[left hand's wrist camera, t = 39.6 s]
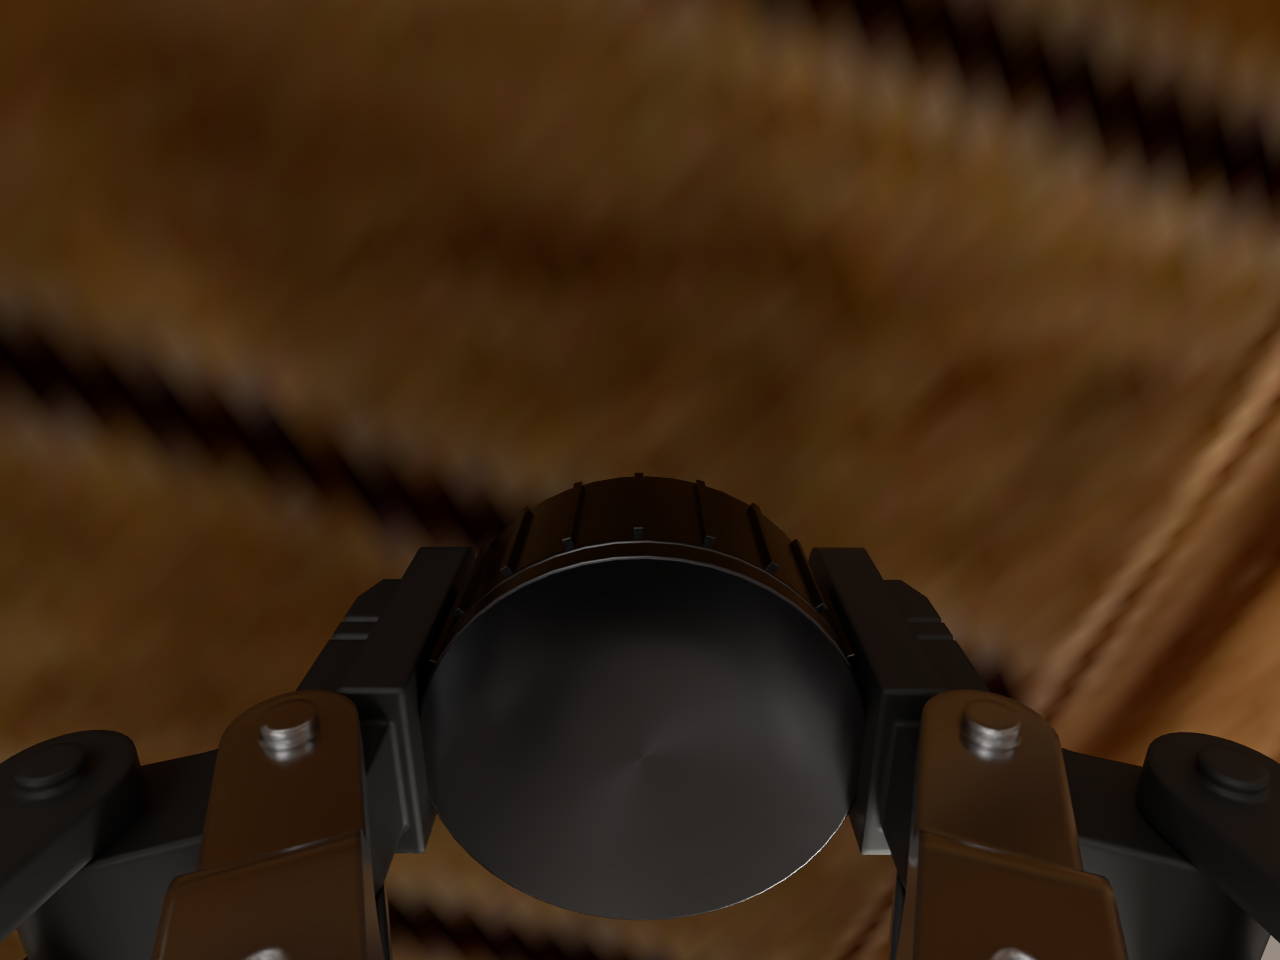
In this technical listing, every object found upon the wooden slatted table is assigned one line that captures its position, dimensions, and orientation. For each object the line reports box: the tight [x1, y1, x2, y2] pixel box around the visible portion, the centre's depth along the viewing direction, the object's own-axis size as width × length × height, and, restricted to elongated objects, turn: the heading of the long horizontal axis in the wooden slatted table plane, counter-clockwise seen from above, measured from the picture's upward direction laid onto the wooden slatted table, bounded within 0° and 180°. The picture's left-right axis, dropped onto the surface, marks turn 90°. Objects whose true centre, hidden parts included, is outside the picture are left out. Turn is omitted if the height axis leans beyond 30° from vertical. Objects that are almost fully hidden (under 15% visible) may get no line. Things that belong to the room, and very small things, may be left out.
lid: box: [419, 473, 867, 920], centre depth 10 cm, size 5×5×2 cm
